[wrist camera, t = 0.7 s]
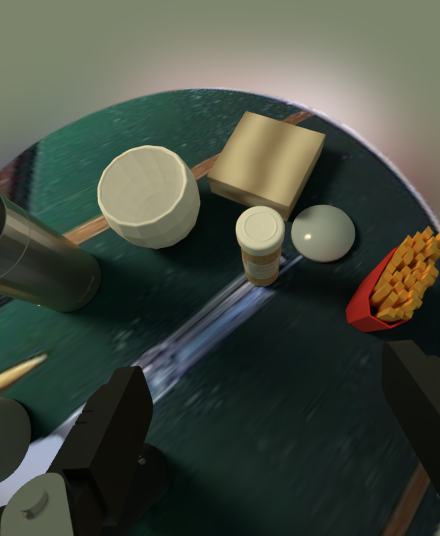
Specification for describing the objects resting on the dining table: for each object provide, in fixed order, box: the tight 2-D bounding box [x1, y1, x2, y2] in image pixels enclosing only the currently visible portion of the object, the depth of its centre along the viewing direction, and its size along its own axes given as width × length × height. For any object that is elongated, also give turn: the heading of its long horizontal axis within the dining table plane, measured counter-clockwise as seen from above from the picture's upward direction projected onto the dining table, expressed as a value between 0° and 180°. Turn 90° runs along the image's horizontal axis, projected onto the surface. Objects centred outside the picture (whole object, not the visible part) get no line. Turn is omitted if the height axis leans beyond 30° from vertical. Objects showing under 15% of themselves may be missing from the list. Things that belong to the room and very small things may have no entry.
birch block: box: [207, 111, 325, 221], centre depth 44 cm, size 12×12×4 cm
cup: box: [98, 145, 200, 249], centre depth 41 cm, size 12×12×10 cm
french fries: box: [345, 226, 440, 332], centre depth 32 cm, size 9×4×13 cm, turn 145°
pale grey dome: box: [291, 205, 355, 263], centre depth 41 cm, size 8×8×1 cm
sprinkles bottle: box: [236, 206, 285, 286], centre depth 35 cm, size 5×5×13 cm
